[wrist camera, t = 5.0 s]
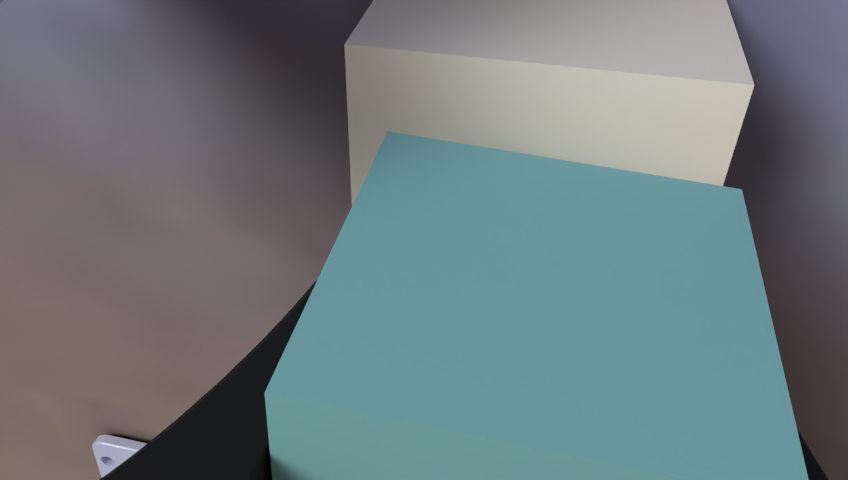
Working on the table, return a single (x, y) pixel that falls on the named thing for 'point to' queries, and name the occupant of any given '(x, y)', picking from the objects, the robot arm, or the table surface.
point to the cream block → (553, 81)
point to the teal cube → (533, 330)
